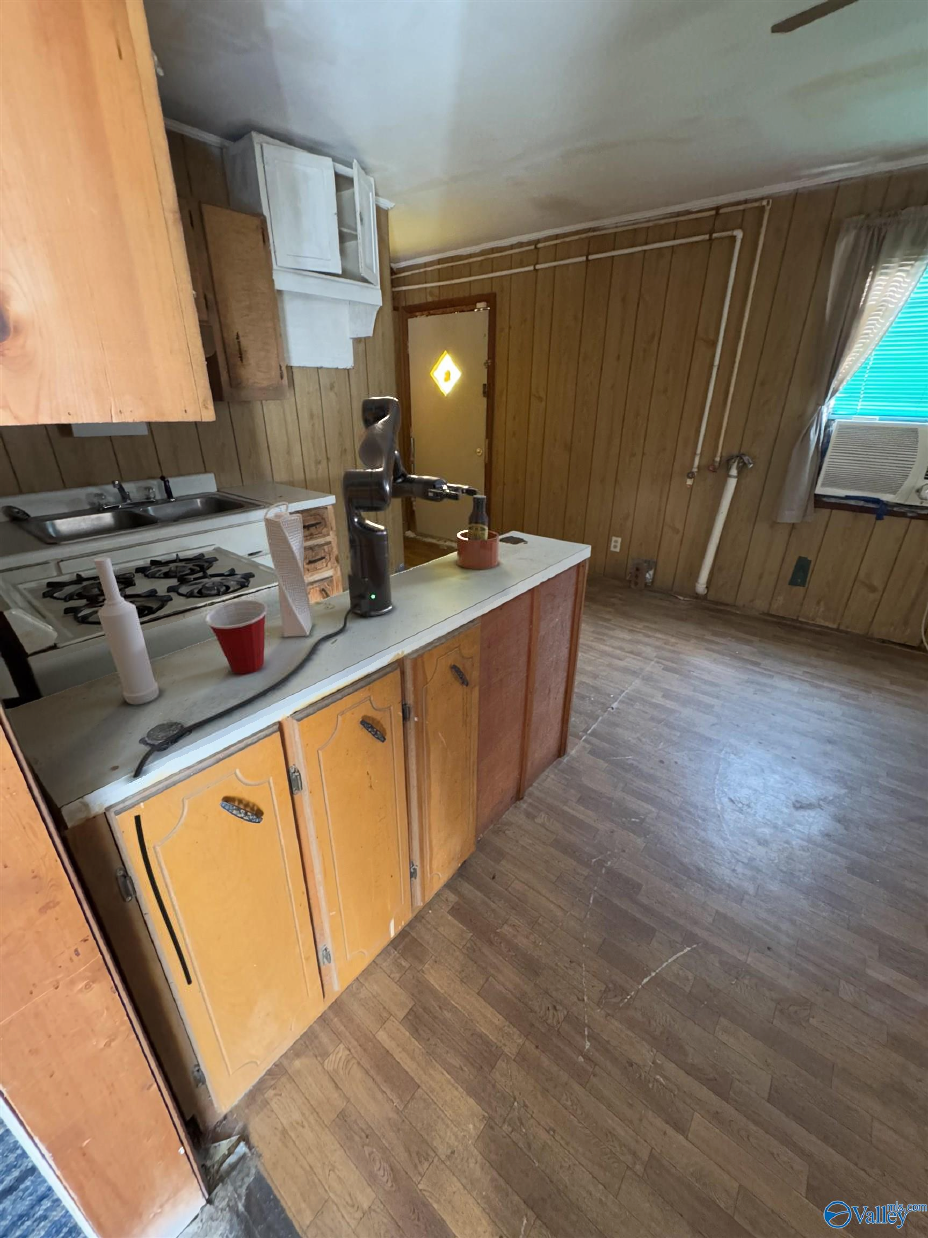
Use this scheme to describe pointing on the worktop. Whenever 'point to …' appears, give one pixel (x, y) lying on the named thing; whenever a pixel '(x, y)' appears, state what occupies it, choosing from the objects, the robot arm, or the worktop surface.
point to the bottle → (125, 639)
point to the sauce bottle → (478, 519)
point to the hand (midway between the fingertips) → (468, 494)
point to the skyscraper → (289, 570)
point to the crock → (477, 551)
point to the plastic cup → (240, 633)
